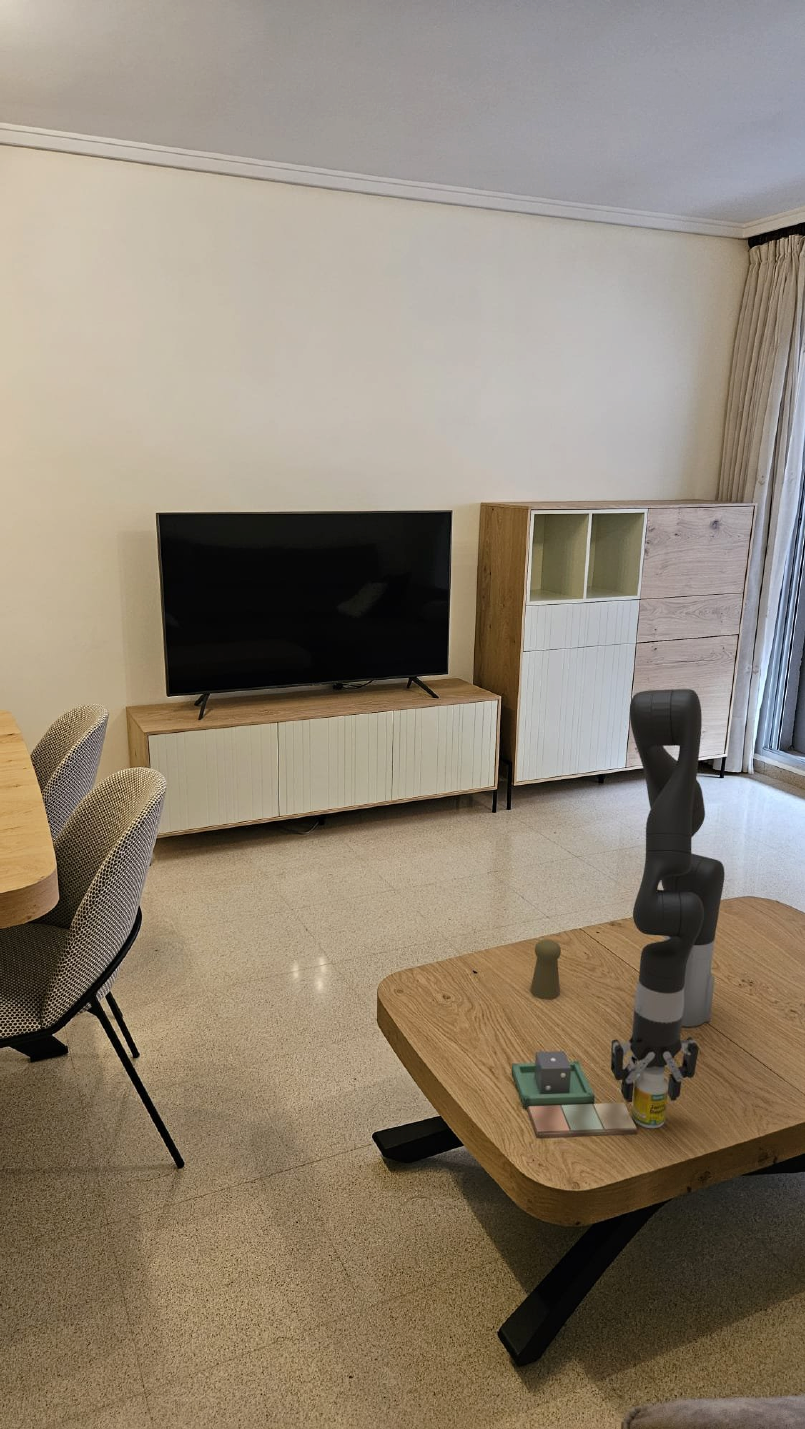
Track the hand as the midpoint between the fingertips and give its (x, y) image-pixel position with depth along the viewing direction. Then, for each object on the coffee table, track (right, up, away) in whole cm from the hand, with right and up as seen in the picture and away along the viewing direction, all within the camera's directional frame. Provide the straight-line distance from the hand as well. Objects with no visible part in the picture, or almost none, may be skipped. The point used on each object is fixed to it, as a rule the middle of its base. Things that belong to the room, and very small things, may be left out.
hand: (649, 1098), depth 161 cm
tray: (-15, -2, +8) cm, 17 cm away
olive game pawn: (-11, +6, +40) cm, 42 cm away
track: (-11, -4, 0) cm, 12 cm away
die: (-15, -1, +8) cm, 17 cm away
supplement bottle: (0, -4, +1) cm, 4 cm away
